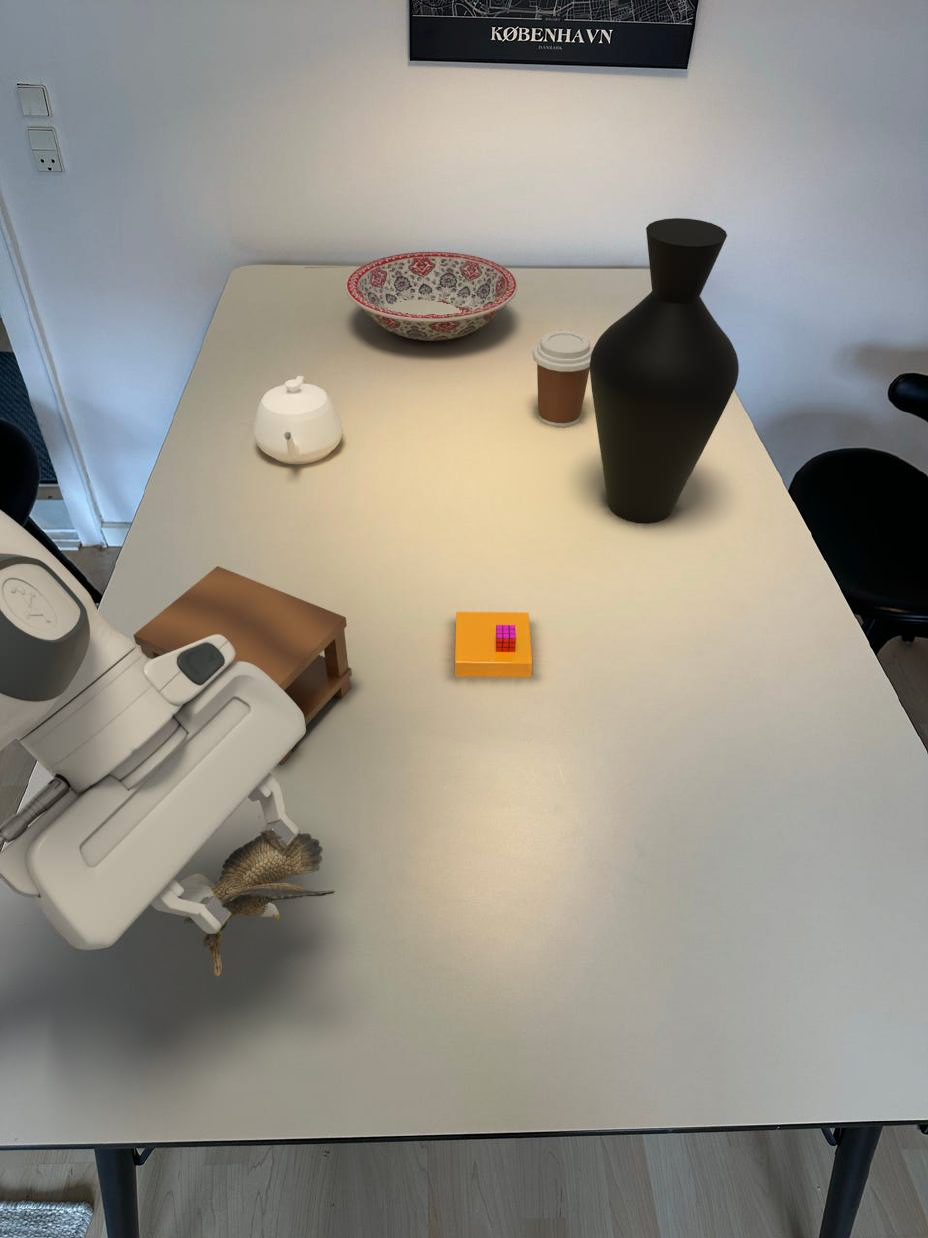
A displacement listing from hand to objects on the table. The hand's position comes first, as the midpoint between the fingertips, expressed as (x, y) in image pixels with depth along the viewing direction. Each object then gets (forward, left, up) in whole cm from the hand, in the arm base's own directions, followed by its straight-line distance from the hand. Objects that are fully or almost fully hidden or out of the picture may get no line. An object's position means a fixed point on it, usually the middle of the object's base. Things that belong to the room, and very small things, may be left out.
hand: (256, 881), depth 60 cm
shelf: (+23, +22, -15) cm, 35 cm away
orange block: (+41, +4, -15) cm, 44 cm away
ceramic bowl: (+108, +51, -15) cm, 121 cm away
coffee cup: (+91, +19, -15) cm, 94 cm away
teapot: (+64, +47, -15) cm, 81 cm away
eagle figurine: (+2, +1, -4) cm, 4 cm away
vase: (+75, 0, -15) cm, 77 cm away
